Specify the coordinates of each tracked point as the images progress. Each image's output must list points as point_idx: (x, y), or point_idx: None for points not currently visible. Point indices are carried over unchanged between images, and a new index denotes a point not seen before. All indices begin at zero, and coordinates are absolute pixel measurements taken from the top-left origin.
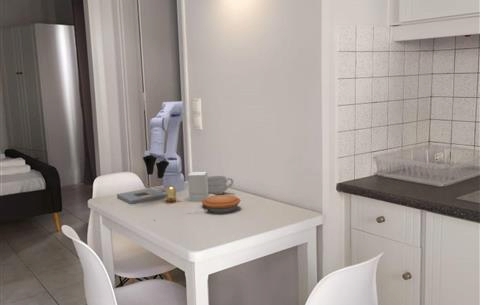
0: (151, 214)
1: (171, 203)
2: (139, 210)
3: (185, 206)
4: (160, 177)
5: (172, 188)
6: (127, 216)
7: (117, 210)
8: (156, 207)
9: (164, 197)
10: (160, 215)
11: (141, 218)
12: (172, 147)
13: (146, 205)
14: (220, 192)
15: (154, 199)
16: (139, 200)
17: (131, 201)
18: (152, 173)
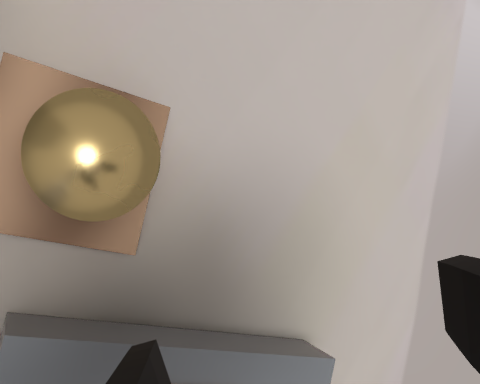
0: (325, 88)
1: (131, 99)
2: (311, 237)
3: (30, 3)
4: (165, 367)
5: (117, 94)
6: (410, 181)
7: (374, 348)
8: (201, 205)
9: (27, 328)
10: (311, 15)
11: (396, 76)
12: None
13: (207, 321)
14: None
15: (141, 335)
16: (273, 350)
17: (329, 355)
18: (453, 260)
